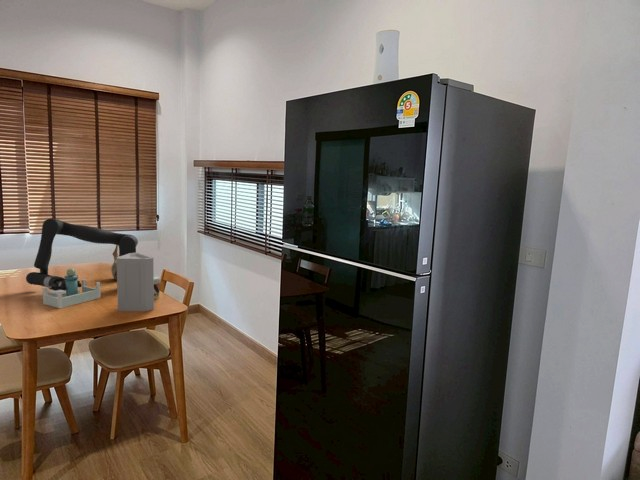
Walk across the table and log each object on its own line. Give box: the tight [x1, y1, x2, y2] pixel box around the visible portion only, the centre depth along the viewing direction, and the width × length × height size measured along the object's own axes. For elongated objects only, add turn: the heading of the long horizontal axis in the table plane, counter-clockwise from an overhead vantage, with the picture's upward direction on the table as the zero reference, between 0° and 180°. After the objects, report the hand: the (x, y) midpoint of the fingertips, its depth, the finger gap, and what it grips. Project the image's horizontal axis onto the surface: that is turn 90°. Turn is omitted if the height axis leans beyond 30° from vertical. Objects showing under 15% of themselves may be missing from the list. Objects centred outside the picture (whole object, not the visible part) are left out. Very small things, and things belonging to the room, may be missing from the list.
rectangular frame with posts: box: [42, 278, 101, 309], centre depth 228 cm, size 14×24×9 cm, turn 154°
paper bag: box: [116, 252, 155, 312], centre depth 220 cm, size 19×15×28 cm
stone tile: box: [47, 289, 81, 298], centre depth 240 cm, size 12×12×2 cm
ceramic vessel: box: [110, 245, 120, 281], centre depth 276 cm, size 16×9×25 cm, turn 44°
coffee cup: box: [154, 275, 161, 300], centre depth 240 cm, size 9×9×12 cm
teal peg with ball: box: [63, 268, 79, 297], centre depth 228 cm, size 6×6×18 cm
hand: (73, 286), depth 227 cm, fingers open, 8 cm apart
